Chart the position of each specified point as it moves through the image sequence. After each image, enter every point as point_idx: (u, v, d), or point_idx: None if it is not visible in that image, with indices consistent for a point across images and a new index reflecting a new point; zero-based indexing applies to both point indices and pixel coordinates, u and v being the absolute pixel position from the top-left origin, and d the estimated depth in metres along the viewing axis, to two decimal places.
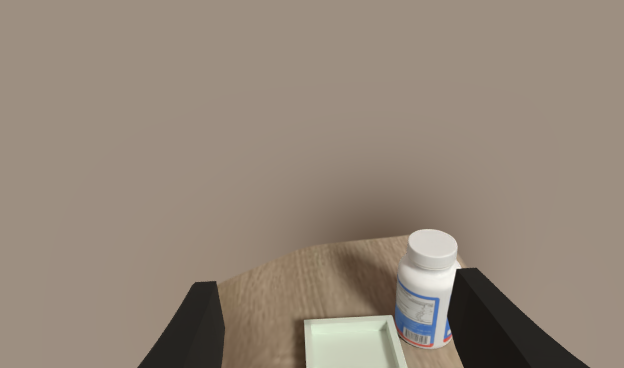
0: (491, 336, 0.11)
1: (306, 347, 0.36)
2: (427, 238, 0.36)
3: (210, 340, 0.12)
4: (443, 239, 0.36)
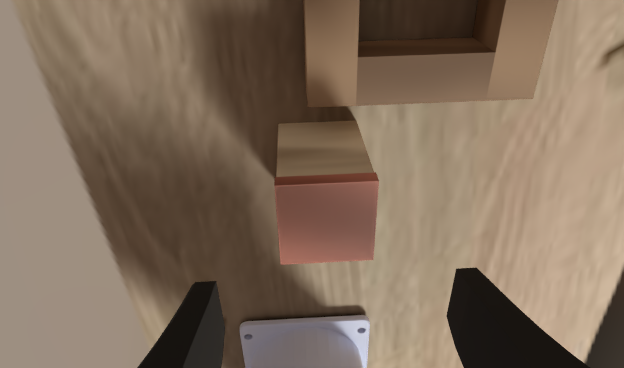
0: (491, 336, 0.11)
1: None
2: None
3: (210, 340, 0.12)
4: None
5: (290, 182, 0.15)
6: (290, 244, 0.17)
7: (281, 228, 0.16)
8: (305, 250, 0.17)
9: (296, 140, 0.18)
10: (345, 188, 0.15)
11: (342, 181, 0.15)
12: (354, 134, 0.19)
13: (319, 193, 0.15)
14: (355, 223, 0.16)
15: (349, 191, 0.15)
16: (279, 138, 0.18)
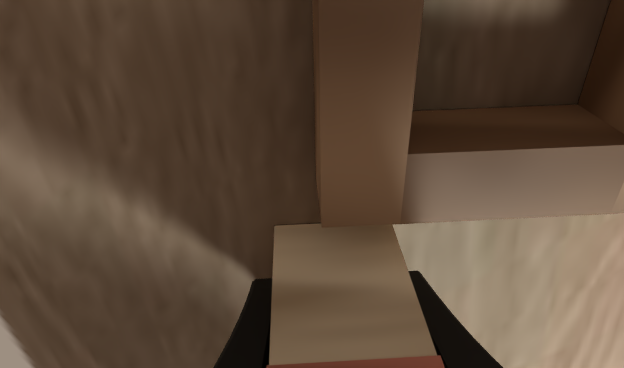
0: None
1: None
2: None
3: None
4: None
5: None
6: None
7: None
8: None
9: (302, 264, 0.12)
10: None
11: None
12: (391, 252, 0.12)
13: None
14: None
15: None
16: (275, 260, 0.12)
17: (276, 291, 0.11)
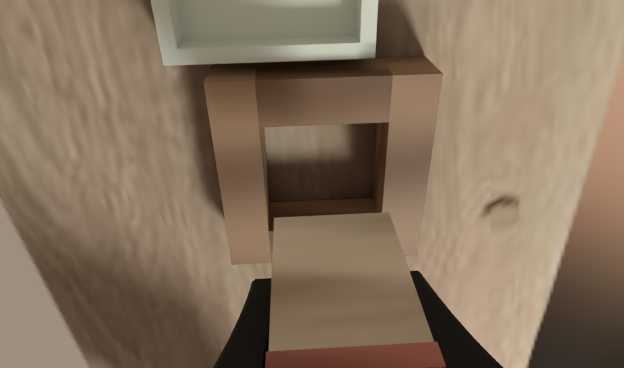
0: None
1: None
2: None
3: None
4: None
5: (292, 367, 0.09)
6: None
7: None
8: None
9: (301, 255, 0.12)
10: None
11: (383, 365, 0.09)
12: (389, 243, 0.12)
13: None
14: None
15: None
16: (275, 251, 0.12)
17: (276, 280, 0.11)
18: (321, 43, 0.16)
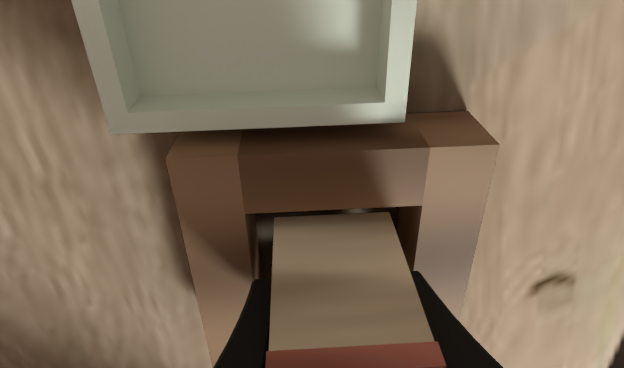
0: None
1: None
2: None
3: None
4: None
5: (293, 367, 0.09)
6: None
7: None
8: None
9: (301, 255, 0.12)
10: None
11: (384, 365, 0.09)
12: (390, 243, 0.12)
13: None
14: None
15: None
16: (275, 251, 0.12)
17: (276, 280, 0.11)
18: (330, 103, 0.12)
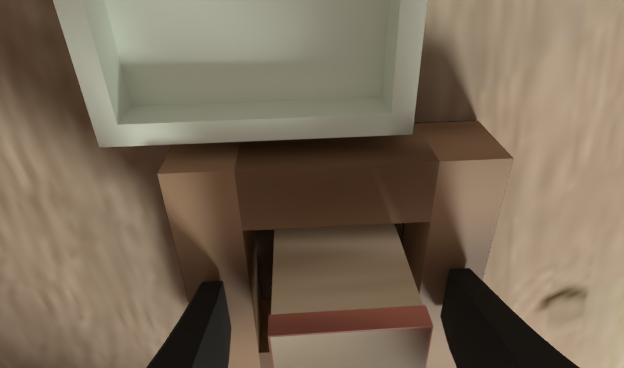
0: (483, 336, 0.11)
1: None
2: None
3: (218, 340, 0.12)
4: None
5: (292, 327, 0.10)
6: None
7: None
8: None
9: (301, 232, 0.13)
10: (380, 336, 0.10)
11: (376, 325, 0.10)
12: None
13: (338, 343, 0.10)
14: None
15: (385, 339, 0.10)
16: (276, 229, 0.13)
17: (277, 254, 0.12)
18: (333, 114, 0.11)
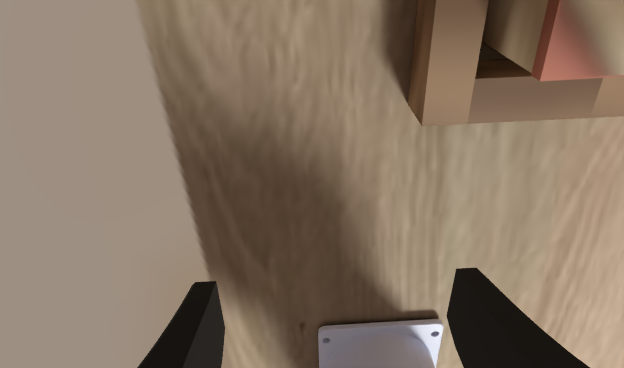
0: (491, 336, 0.11)
1: None
2: None
3: (210, 340, 0.12)
4: None
5: None
6: (561, 49, 0.13)
7: (558, 23, 0.13)
8: (576, 58, 0.14)
9: None
10: None
11: None
12: None
13: None
14: None
15: None
16: None
17: None
18: None
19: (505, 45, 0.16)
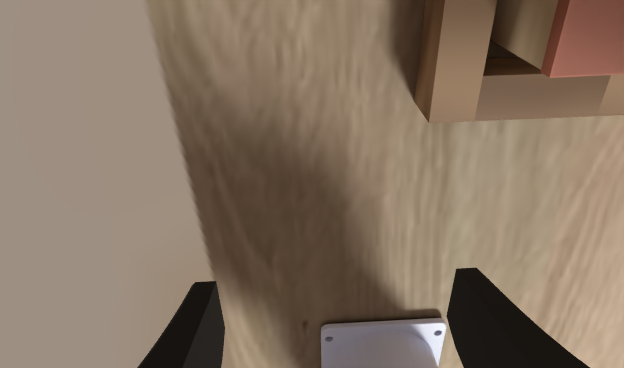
0: (491, 336, 0.11)
1: None
2: None
3: (210, 340, 0.12)
4: None
5: None
6: (571, 46, 0.13)
7: (569, 19, 0.13)
8: (586, 55, 0.14)
9: None
10: None
11: None
12: None
13: None
14: None
15: None
16: None
17: None
18: None
19: (513, 42, 0.16)
